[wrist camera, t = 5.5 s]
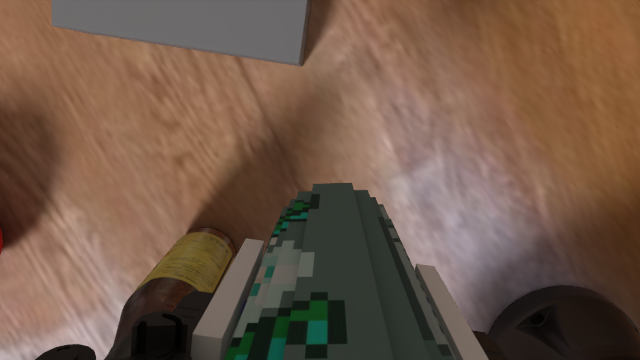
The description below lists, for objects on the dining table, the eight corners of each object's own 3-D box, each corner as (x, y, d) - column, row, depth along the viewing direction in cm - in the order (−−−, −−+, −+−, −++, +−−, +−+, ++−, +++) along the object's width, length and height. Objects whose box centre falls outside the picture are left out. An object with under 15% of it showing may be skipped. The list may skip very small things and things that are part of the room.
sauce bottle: (172, 229, 40) (27, 362, 21) (231, 220, 40) (140, 347, 21) (187, 287, 42) (64, 460, 22) (244, 279, 41) (171, 448, 22)
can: (275, 184, 21) (144, 412, 6) (390, 181, 21) (539, 409, 6) (281, 289, 22) (186, 680, 8) (390, 287, 22) (509, 684, 7)
